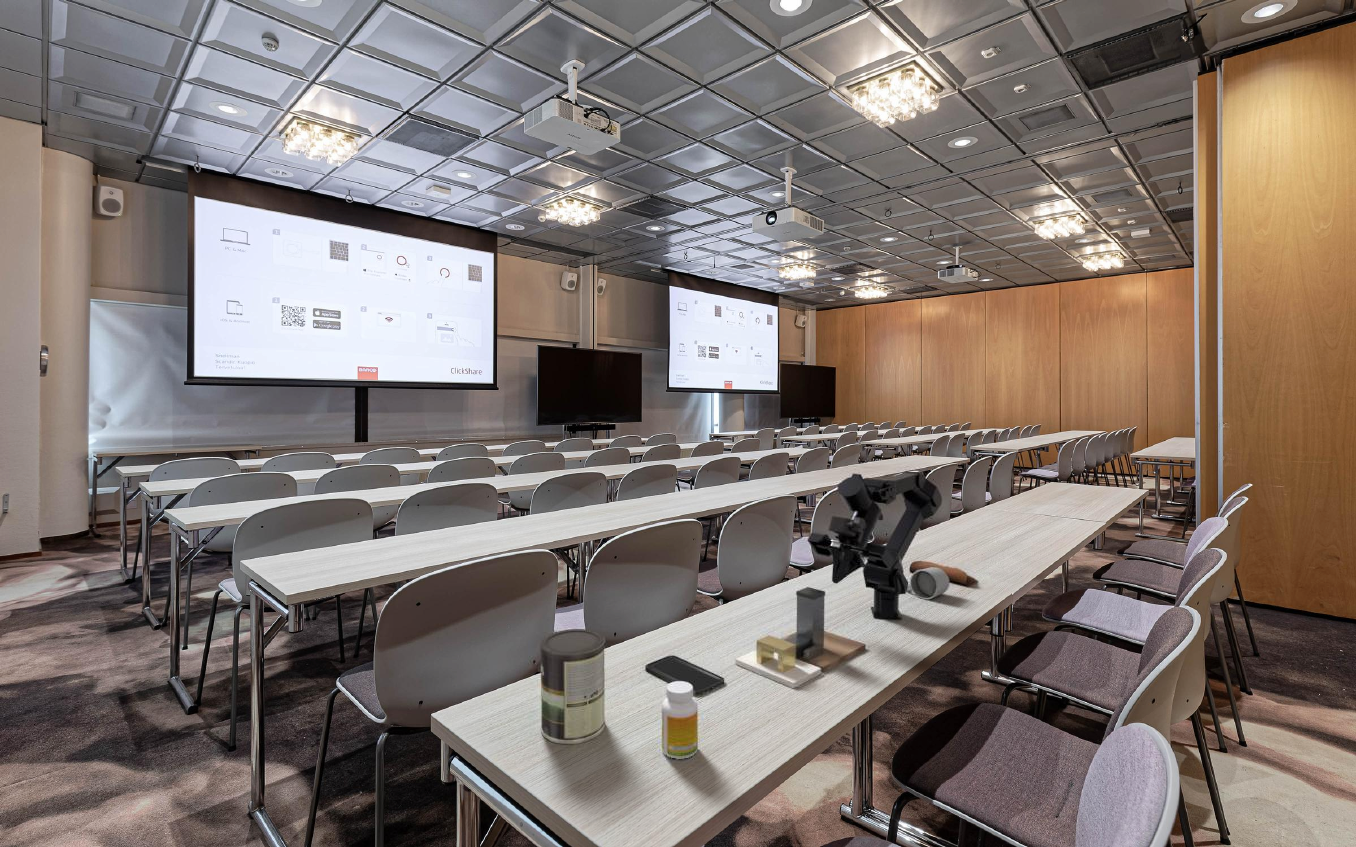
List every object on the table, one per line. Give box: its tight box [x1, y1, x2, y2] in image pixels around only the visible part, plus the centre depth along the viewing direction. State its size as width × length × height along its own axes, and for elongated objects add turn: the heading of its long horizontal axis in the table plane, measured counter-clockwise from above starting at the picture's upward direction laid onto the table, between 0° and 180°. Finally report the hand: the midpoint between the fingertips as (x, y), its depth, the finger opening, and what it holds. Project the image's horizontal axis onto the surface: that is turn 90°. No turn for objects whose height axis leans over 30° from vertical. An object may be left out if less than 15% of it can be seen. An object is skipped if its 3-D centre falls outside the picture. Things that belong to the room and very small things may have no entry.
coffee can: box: [539, 628, 606, 745], centre depth 99 cm, size 10×10×14 cm
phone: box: [644, 654, 725, 697], centre depth 117 cm, size 8×1×15 cm
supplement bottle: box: [661, 681, 699, 760], centre depth 92 cm, size 5×5×10 cm
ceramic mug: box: [906, 567, 950, 601], centre depth 165 cm, size 11×8×8 cm
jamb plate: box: [734, 649, 822, 689], centre depth 120 cm, size 9×14×1 cm, turn 44°
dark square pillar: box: [786, 586, 826, 658], centre depth 125 cm, size 10×4×12 cm, turn 134°
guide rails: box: [784, 635, 823, 661], centre depth 125 cm, size 5×7×2 cm
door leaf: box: [781, 630, 867, 673], centre depth 129 cm, size 16×14×1 cm
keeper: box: [755, 634, 796, 673], centre depth 119 cm, size 4×6×4 cm, turn 43°
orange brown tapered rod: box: [908, 560, 980, 588], centre depth 180 cm, size 18×7×7 cm
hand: (834, 582), depth 133 cm, fingers closed
